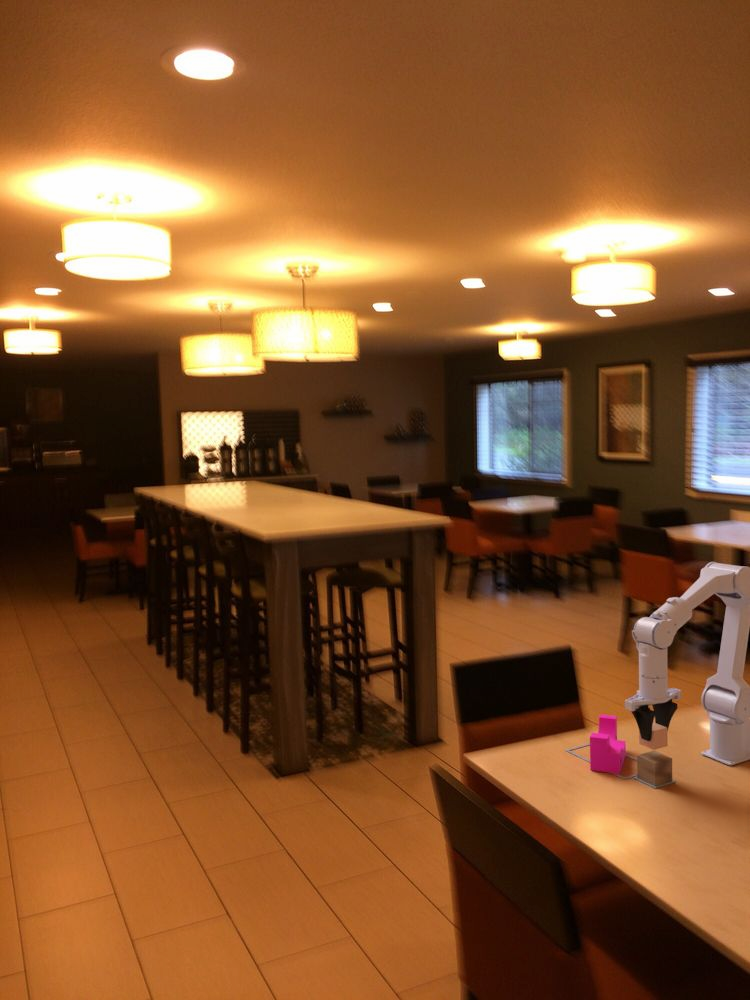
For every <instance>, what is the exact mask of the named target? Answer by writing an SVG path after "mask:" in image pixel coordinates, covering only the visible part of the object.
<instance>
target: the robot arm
mask: <svg viewBox="0 0 750 1000" xmlns="http://www.w3.org/2000/svg"><path fill="white" fill-rule="evenodd" d="M713 595H716V596H717V597H718V598H719V599H721V601H723V603H724V604H725V606H726V607H725V612H724V613H725V614H724V621H723V626H722V627H723V629H722V635H721V642H720V650H719V655H718V664H717V670H716V671H717V672H716V673H715V674H714V675H711V676H709V677H708V678H706V684H705V687H704V689H703V691H702V693H701V697H700V698H701V699H700V700H701V705H702V709H704V711H706V716H708V717H709V749H706V750H702V751H701V752H700V754H701V755H702V756H706V757H708V758H710V759H712V760H715V761H718V762H720V763H723V764H724V765H727V766H734V765H737V764H740V763H743V762H746V761H750V685H749V684H748V683H747V682H746V680H745V679H744V677H743V676H744V670H745V665H746V663H745V662H746V656H747V649H748V642H749V634H750V566H748V565H747V566H744V565H743V566H741V565H737V564H736V565H735V564H734V565H733V564H728V563H719V562H717V561H710V562H708V563H707V564H706V565H705V566H704V567H703V568H701V569H700V574H699V577H698V579H697V580H696V581H694V583H693V584H692V585H691V586H690V587H689V588H688V589H687V590H686V591H685V592H684V593H683V594H682V595H681V596H680V597H678V596H675V597H674V596H673V597H669V598H667V599H666V602H664V604H662V605H661V606H660V607H659V608H658V609H657V610H655V611H653V612H652V614H650V616H649V617H648V616H644V617H643V616H642V617H641V618H640V619H638V620H637V621H636V622H635V624H634V627H633V630H631V634H632V639H633V640H634V641H635V645H636V646H635V649H637V651H638V688H639V689H638V690H636V694H634V695H633V696H631V697H629V698H627V699H625V700H624V709H625V710H627V711H630V712H631V714H632V716H633V717H634V719H635V722H636V724H637V727H638V732H639V731H640V735H641V738H642V739H644V740H646V741H651V737H652V725H653V722H654V720H655V722H654V723H657V724H659V725H662V726H664V727H667V732H668V730H669V727H670V724H671V721H672V718H673V716H674V714H675V712H676V711H677V710H678V703H677V702H674V701H673V700H681V699H682V690H681V689H679V688H676V687H671V688H668V687H669V683H668V682H669V681H668V680H669V679H668V677H669V676H668V674H669V673H668V647H670V646H671V645H672V644H673V642H674V638H675V635H677V632H678V630H679V629H680V628H681V627H683V626H684V625H685V624H687V622H688V621H690V620H691V618H692V617H693V610H694V609H695V608H697V607H698V606H699V605H701V604H702V603H703V602H705V601H706V600H708V599H709V598H710V597H711V596H713ZM649 706H652V709H651V708H650V707H649Z"/></svg>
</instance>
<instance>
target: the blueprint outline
mask: <svg viewBox="0 0 750 1000" xmlns="http://www.w3.org/2000/svg"><path fill="white" fill-rule="evenodd" d="M588 746H590V743H587V744H584V745H579V746H575V747H571V748H569V749H566V750H565V752H568V753H569V754H572V755H574V756H576V757H578V758H580V759H582V760H584V761H586V762H588V763H590V759H587V758H585V757H584V756H581V755H578V754H576V753H575V752H572V751H574V750H577V749H580V748H584V747H588ZM626 757H628V758H629V759H632V760H634V761H636V762H637V757H636V758H635V757H633V756H630V755H629V754H627V753H626ZM611 774H612V775H614V776H617V777H619V778H621V779H623V780H625V779H626V780H629V779H631V778H633V779H634V780H636V781H639V782H641V783H643V784H645V785H646V786H649V787H650V788H652V789H654V790H655V789H658V788H662V787H666V786H667V785H670V784H673V783H676V780H675V779H672V781H671V782H668V783H665V784H662V785H659V786H653V785H651V784H649V783H647V782H645V781H643V780H641V779H638V778H637V773H636V774H632V775H629V776H626V777H624V776H622V775H621V774H617V773H611Z"/></svg>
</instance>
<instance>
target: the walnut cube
mask: <svg viewBox="0 0 750 1000" xmlns="http://www.w3.org/2000/svg"><path fill="white" fill-rule="evenodd" d="M636 759H637V761H636V774H637V778H638V779H641V780H643V781H645V782H647V783H649V784H651V785H653V786H659V785H662V784H665V783H668V782H671V781H672V780H673V758H672V757H670V756H668V755H666V754H663V753H660V752H659V751H657V750H651V751H647V752H644V753H640V754H636Z"/></svg>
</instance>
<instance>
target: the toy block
mask: <svg viewBox="0 0 750 1000" xmlns="http://www.w3.org/2000/svg"><path fill="white" fill-rule="evenodd" d="M598 717H599V718H598V732H591V733H590V736H589V744H590V745H589V750H590V751H589V761H590V762H589V766H590V771H597V772H604V773H610V774H612V773H616V774H618V775H621V772H622V768H623V765H624V763H625V760H626V757H627V756H626V754H627V750H626V749H627V748H626V745H627V744H626V743H627V742H626V740H619V739H618V717H617V715H610V714H600V715H599V716H598Z"/></svg>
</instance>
